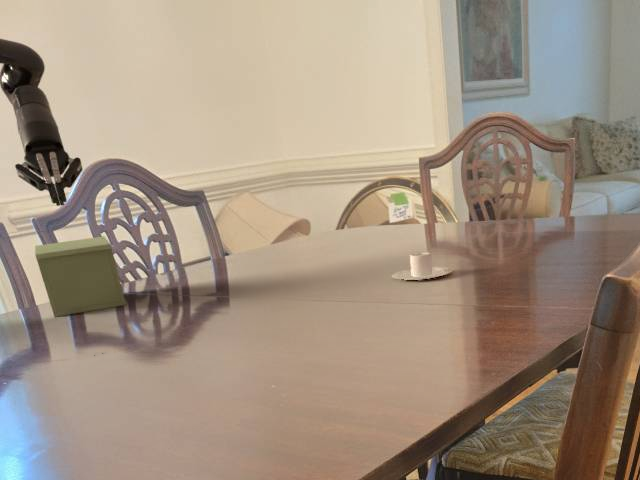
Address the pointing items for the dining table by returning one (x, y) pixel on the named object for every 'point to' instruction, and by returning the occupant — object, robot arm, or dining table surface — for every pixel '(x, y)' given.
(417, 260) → the candle holder
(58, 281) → the chest
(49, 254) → the lid
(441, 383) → the dining table surface
